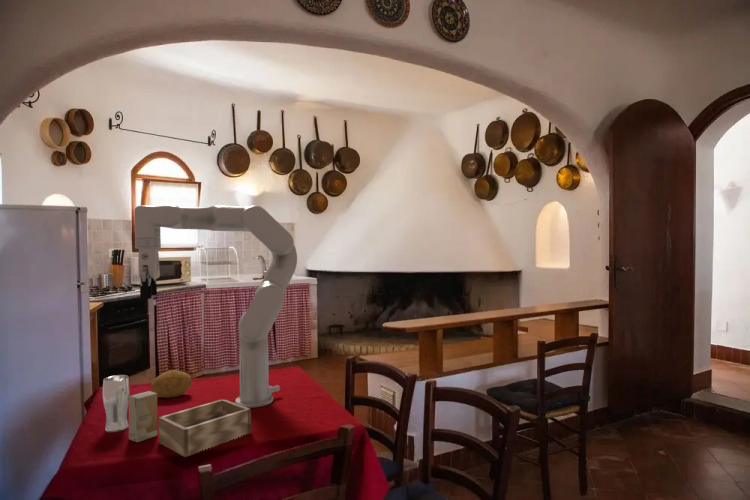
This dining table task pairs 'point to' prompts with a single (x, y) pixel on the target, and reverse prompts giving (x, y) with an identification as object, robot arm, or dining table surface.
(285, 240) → the robot arm
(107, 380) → the beer glass
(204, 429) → the insert box
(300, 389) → the dining table surface
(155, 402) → the skincare box
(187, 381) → the potato
